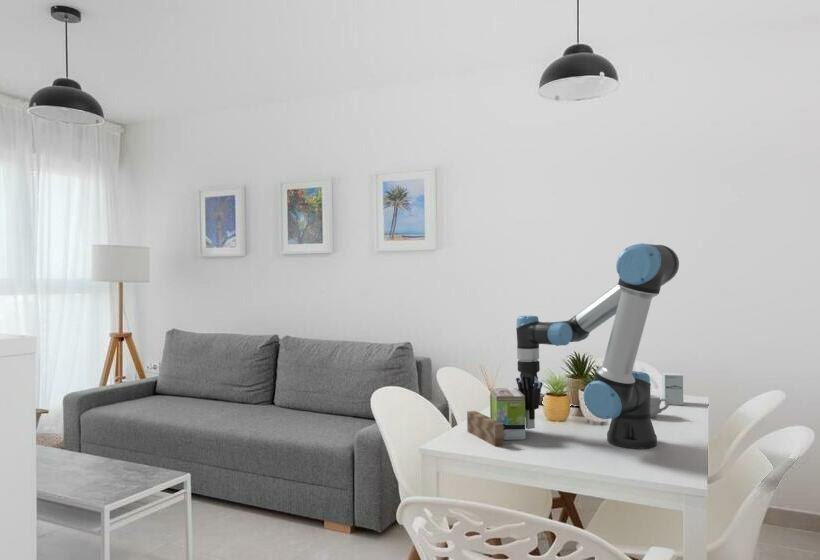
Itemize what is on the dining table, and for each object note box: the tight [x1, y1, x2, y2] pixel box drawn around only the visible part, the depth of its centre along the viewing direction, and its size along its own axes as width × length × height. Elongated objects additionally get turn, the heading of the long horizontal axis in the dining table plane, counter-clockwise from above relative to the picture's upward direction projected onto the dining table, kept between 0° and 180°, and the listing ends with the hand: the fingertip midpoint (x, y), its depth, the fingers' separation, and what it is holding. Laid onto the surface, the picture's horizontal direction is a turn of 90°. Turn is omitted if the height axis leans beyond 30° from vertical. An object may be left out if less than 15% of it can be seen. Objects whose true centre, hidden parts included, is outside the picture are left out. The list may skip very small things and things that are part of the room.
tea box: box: [489, 387, 526, 441], centre depth 196 cm, size 15×10×15 cm
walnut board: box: [466, 410, 505, 447], centre depth 192 cm, size 20×3×7 cm, turn 21°
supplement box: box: [661, 371, 684, 406], centre depth 240 cm, size 7×7×13 cm
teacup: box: [650, 394, 670, 418], centre depth 217 cm, size 14×11×8 cm
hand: (530, 428), depth 197 cm, fingers closed
